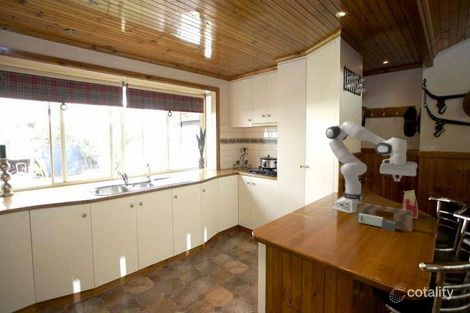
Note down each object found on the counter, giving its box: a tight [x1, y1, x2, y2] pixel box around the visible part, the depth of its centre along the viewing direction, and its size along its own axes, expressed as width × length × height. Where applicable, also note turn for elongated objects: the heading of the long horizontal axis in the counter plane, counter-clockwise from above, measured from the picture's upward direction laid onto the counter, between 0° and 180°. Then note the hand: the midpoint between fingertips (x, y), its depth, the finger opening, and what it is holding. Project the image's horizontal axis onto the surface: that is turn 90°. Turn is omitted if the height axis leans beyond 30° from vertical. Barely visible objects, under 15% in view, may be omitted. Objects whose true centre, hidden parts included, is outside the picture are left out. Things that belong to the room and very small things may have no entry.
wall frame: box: [355, 202, 414, 232], centre depth 160 cm, size 32×2×12 cm, turn 49°
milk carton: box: [401, 189, 419, 219], centre depth 176 cm, size 9×9×20 cm
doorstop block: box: [381, 218, 397, 232], centre depth 153 cm, size 7×5×5 cm
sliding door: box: [357, 213, 384, 228], centre depth 159 cm, size 14×4×6 cm, turn 49°
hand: (397, 181), depth 160 cm, fingers closed
